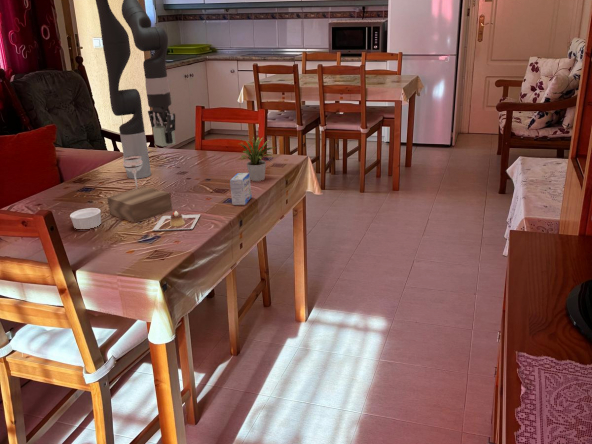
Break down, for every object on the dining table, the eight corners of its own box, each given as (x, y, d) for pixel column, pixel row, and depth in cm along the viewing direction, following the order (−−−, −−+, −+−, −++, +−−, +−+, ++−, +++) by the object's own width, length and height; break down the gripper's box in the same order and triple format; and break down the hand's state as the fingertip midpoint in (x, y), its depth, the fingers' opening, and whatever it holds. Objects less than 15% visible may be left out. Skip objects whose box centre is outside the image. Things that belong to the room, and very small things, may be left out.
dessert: (162, 219, 178) (160, 204, 177) (201, 217, 178) (199, 203, 176) (152, 233, 167) (150, 218, 165) (193, 232, 166) (191, 216, 165)
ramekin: (85, 233, 169) (82, 219, 168) (66, 228, 174) (63, 215, 172) (109, 223, 176) (106, 210, 175) (90, 219, 181) (87, 206, 179)
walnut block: (110, 215, 184) (107, 197, 182) (147, 203, 193) (144, 186, 191) (135, 223, 175) (132, 205, 173) (172, 210, 185) (169, 192, 182)
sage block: (155, 144, 195) (152, 127, 193) (167, 141, 198) (165, 124, 196) (162, 146, 192) (160, 128, 189) (175, 143, 195) (173, 126, 192)
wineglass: (150, 189, 207) (145, 156, 203) (134, 194, 203) (128, 161, 198) (140, 186, 212) (135, 154, 207) (124, 191, 207) (118, 158, 203)
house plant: (251, 188, 201) (247, 142, 195) (229, 181, 211) (224, 137, 205) (282, 179, 209) (279, 135, 203) (259, 172, 219) (256, 130, 213)
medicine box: (245, 205, 184) (242, 179, 181) (232, 205, 185) (229, 179, 182) (251, 197, 191) (249, 172, 188) (239, 197, 192) (236, 172, 189)
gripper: (137, 91, 191) (144, 141, 197) (159, 94, 181) (166, 147, 187) (157, 88, 196) (163, 137, 202) (179, 91, 186) (186, 142, 192)
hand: (165, 142), depth 195 cm, fingers closed on sage block, 5 cm apart
